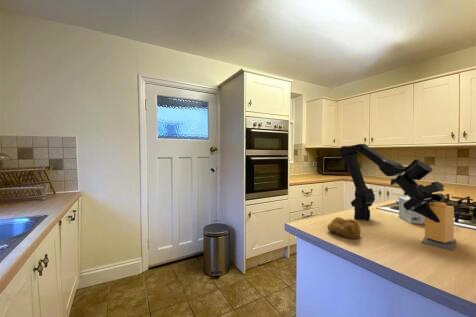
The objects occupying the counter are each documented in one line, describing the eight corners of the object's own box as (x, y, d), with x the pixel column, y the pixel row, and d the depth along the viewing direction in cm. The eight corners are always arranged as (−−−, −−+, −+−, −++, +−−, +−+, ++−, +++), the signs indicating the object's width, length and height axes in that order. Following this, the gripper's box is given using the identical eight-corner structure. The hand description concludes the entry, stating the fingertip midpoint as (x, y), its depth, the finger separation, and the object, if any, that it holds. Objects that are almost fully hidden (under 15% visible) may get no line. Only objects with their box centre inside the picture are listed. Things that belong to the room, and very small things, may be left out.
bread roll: (323, 233, 91) (323, 214, 91) (334, 227, 97) (334, 210, 97) (355, 242, 81) (355, 222, 81) (365, 236, 87) (365, 216, 87)
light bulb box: (426, 224, 100) (426, 201, 99) (410, 223, 101) (410, 201, 101) (412, 217, 110) (412, 196, 110) (398, 216, 112) (398, 196, 111)
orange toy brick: (424, 237, 82) (425, 201, 82) (433, 234, 84) (433, 200, 84) (444, 243, 77) (445, 205, 76) (453, 240, 79) (454, 203, 79)
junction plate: (453, 250, 73) (453, 235, 73) (421, 243, 80) (421, 229, 80) (455, 240, 81) (455, 227, 81) (426, 234, 88) (426, 222, 88)
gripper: (412, 176, 80) (450, 212, 70) (440, 173, 87) (478, 206, 77) (390, 193, 87) (421, 228, 78) (417, 189, 95) (449, 221, 85)
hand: (443, 220), depth 79 cm, fingers closed on orange toy brick, 6 cm apart
